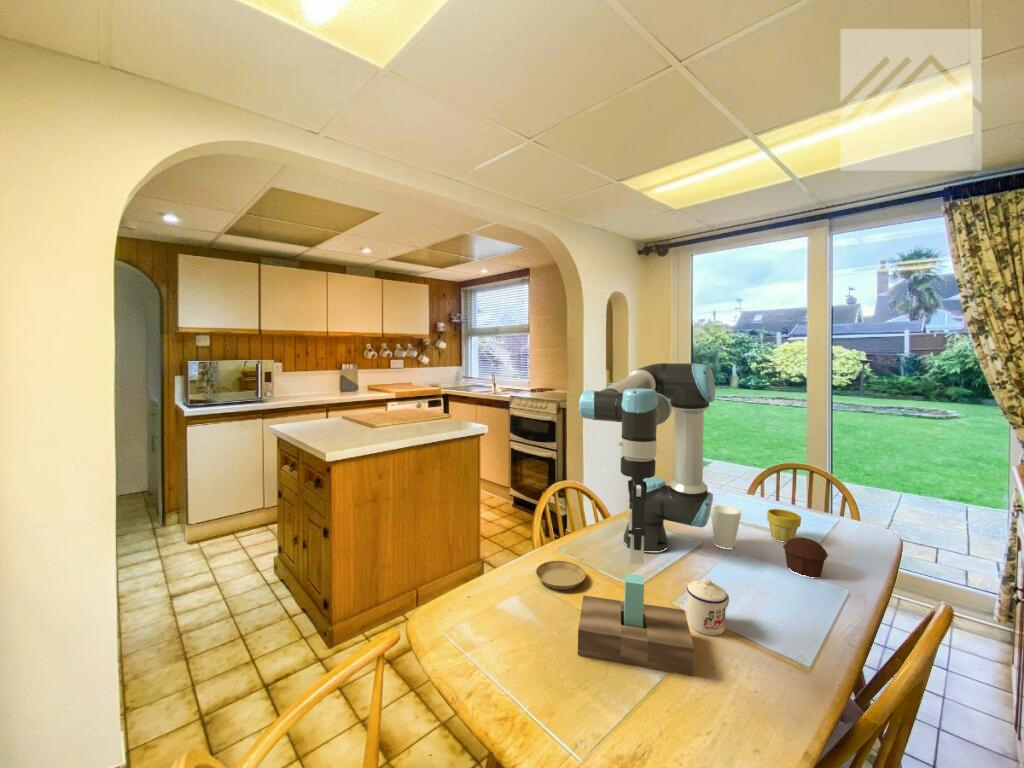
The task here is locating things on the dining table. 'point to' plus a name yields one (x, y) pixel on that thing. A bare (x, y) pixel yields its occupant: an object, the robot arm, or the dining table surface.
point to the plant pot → (783, 524)
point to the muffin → (805, 556)
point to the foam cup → (725, 525)
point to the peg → (634, 600)
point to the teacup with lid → (706, 607)
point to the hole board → (636, 636)
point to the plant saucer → (560, 574)
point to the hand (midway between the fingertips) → (635, 548)
